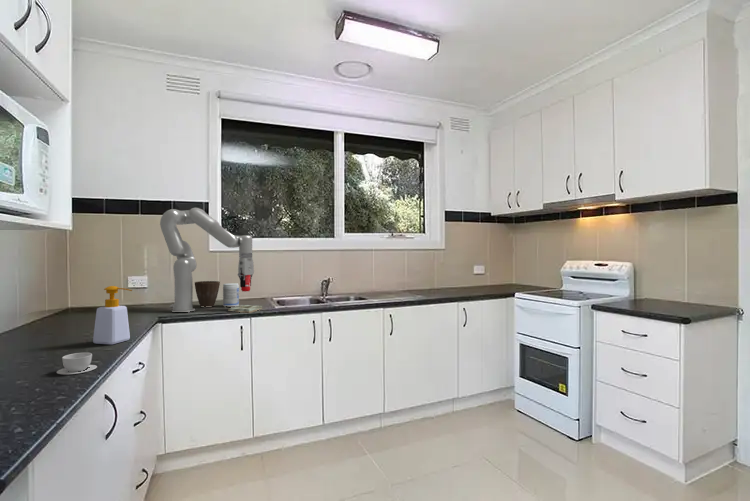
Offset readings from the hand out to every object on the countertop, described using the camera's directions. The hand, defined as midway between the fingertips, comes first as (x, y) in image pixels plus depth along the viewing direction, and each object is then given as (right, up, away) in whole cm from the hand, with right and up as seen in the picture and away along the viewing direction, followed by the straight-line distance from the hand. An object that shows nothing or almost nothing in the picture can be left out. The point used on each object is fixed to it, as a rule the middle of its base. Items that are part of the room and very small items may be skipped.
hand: (245, 286), depth 245 cm
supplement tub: (-14, -15, +16) cm, 26 cm away
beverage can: (0, -3, 0) cm, 3 cm away
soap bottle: (-24, -15, -84) cm, 88 cm away
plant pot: (-29, -15, +14) cm, 35 cm away
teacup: (-13, -16, -120) cm, 122 cm away
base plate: (0, -15, 0) cm, 15 cm away
